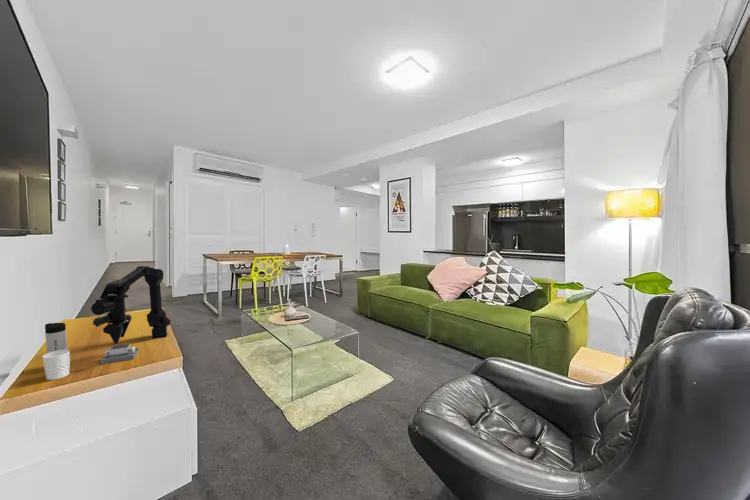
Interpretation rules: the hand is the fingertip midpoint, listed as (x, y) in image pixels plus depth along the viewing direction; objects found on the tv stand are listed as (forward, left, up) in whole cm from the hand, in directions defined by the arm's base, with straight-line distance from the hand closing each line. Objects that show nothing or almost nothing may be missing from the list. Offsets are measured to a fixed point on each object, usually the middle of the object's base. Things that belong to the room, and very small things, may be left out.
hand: (119, 340), depth 141 cm
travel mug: (+22, 0, -9) cm, 24 cm away
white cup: (+18, +11, -9) cm, 23 cm away
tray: (0, 0, -9) cm, 9 cm away
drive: (0, 0, -8) cm, 8 cm away
